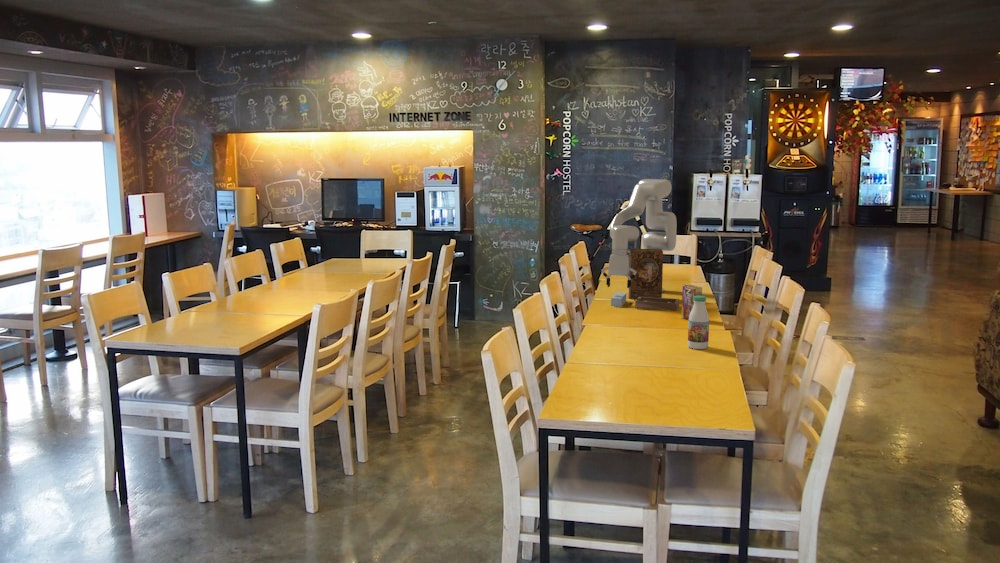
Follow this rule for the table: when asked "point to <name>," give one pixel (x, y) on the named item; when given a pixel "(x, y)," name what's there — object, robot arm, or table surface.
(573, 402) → the table surface
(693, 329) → the milk bottle
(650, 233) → the robot arm
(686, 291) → the candy box
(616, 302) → the grey rectangular block
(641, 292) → the book
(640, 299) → the frame
